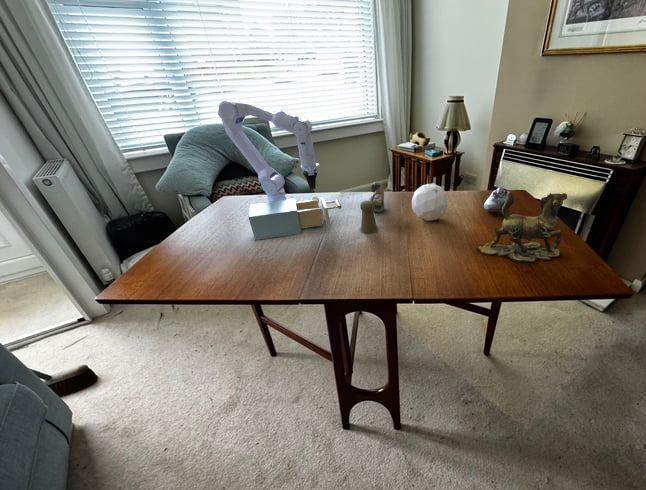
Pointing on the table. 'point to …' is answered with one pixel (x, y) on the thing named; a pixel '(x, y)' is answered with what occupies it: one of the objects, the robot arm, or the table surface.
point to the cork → (368, 217)
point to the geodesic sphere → (429, 202)
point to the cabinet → (274, 219)
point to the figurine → (528, 232)
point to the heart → (496, 200)
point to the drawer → (314, 212)
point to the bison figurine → (377, 197)
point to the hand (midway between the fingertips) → (312, 188)
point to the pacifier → (318, 202)
